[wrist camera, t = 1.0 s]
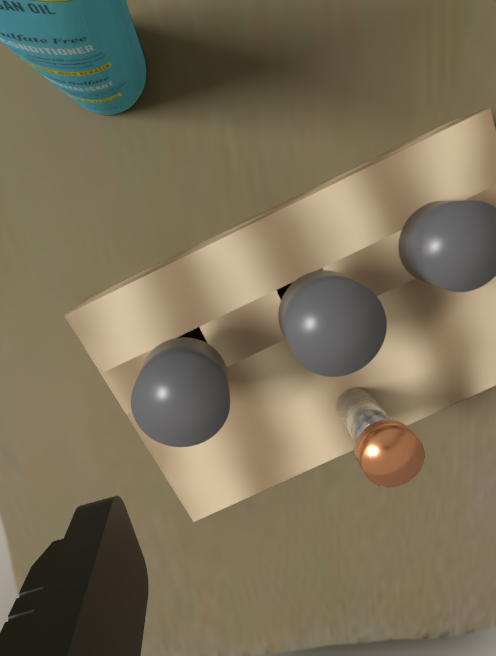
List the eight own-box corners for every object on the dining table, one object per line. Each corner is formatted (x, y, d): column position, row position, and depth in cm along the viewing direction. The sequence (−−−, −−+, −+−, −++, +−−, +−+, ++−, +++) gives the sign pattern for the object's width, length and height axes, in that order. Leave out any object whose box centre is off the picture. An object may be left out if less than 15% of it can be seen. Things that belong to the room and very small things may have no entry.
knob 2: (430, 188, 28) (497, 184, 21) (451, 254, 29) (520, 268, 23) (364, 220, 28) (410, 225, 22) (388, 283, 29) (438, 306, 23)
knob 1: (205, 305, 26) (202, 340, 20) (238, 370, 27) (246, 422, 21) (137, 338, 26) (112, 383, 20) (173, 400, 28) (160, 462, 21)
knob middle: (327, 247, 26) (366, 262, 19) (354, 315, 27) (400, 351, 20) (256, 281, 26) (271, 307, 19) (287, 346, 27) (311, 392, 21)
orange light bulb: (369, 373, 27) (413, 421, 21) (386, 414, 28) (432, 471, 22) (322, 394, 27) (353, 448, 21) (341, 434, 28) (375, 496, 22)
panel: (450, 121, 27) (489, 107, 23) (515, 339, 32) (556, 357, 28) (84, 300, 29) (64, 315, 25) (195, 484, 33) (193, 522, 29)
